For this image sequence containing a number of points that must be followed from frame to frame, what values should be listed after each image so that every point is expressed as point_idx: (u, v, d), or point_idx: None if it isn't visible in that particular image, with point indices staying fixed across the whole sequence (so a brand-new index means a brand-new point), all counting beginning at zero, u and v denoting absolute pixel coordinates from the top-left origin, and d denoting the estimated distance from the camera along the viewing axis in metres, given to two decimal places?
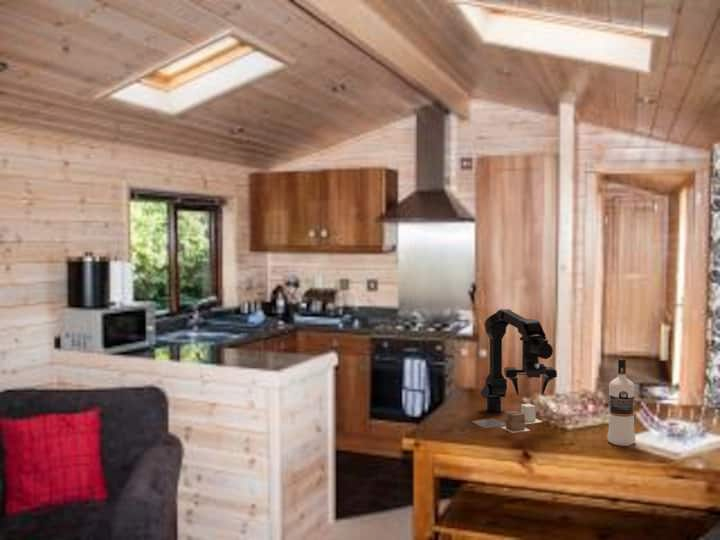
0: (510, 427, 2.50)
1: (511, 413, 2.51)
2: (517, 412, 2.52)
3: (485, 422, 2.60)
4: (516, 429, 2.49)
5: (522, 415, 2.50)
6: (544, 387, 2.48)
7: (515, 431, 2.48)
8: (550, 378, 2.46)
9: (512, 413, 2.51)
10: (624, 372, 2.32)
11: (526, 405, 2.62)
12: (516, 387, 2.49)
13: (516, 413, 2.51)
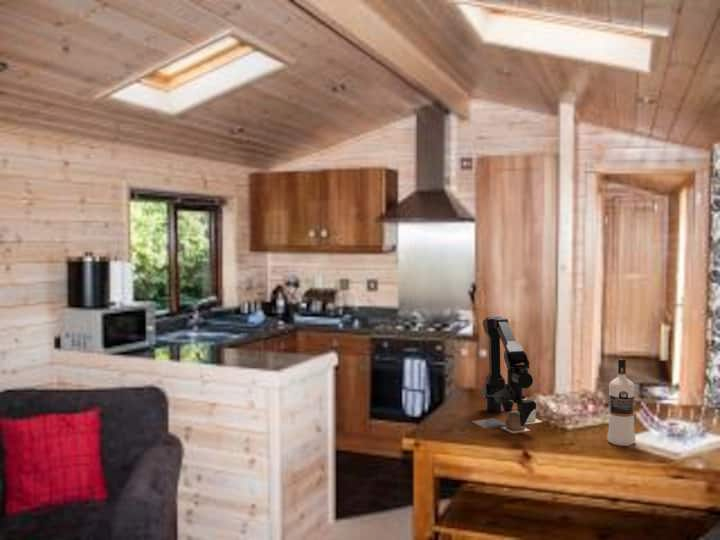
0: (510, 427, 2.50)
1: (511, 413, 2.51)
2: (517, 412, 2.52)
3: (485, 422, 2.60)
4: (516, 429, 2.49)
5: None
6: (520, 418, 2.46)
7: (515, 431, 2.48)
8: (519, 410, 2.44)
9: (512, 413, 2.51)
10: (624, 372, 2.32)
11: None
12: (504, 411, 2.56)
13: (516, 413, 2.51)
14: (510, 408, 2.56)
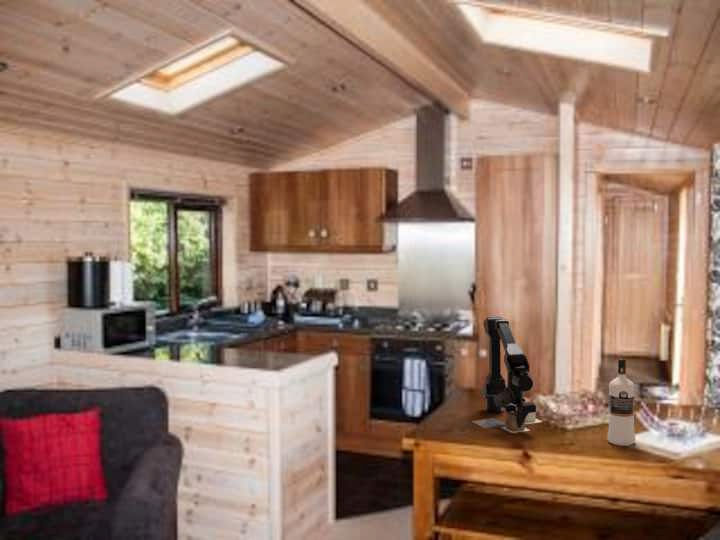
0: (510, 427, 2.50)
1: (511, 413, 2.51)
2: None
3: (485, 422, 2.60)
4: (516, 429, 2.49)
5: None
6: (517, 420, 2.48)
7: (515, 431, 2.48)
8: (516, 411, 2.46)
9: (512, 413, 2.51)
10: (624, 372, 2.32)
11: None
12: None
13: None
14: None
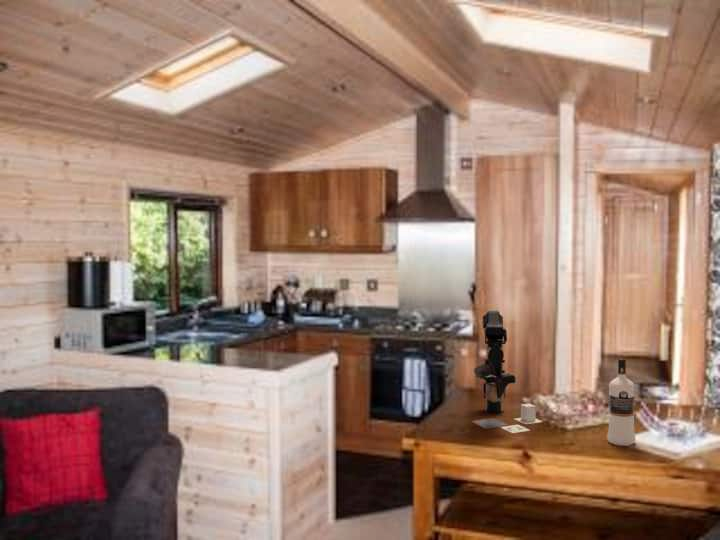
0: (490, 398, 2.56)
1: (491, 384, 2.57)
2: None
3: (485, 422, 2.60)
4: (496, 400, 2.54)
5: None
6: (497, 391, 2.53)
7: (515, 431, 2.48)
8: (496, 382, 2.51)
9: (491, 384, 2.56)
10: (624, 372, 2.32)
11: (526, 405, 2.62)
12: None
13: None
14: None
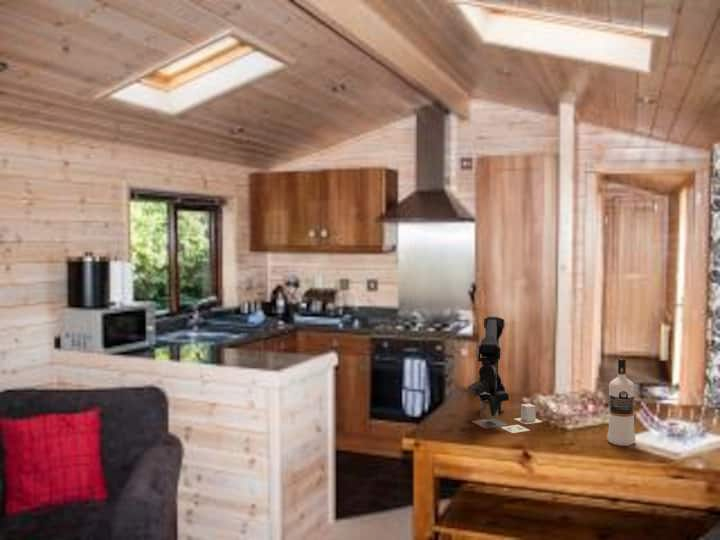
0: (484, 415, 2.58)
1: (485, 401, 2.59)
2: None
3: (485, 422, 2.60)
4: (490, 417, 2.56)
5: None
6: (491, 408, 2.55)
7: (515, 431, 2.48)
8: (490, 400, 2.53)
9: (486, 402, 2.58)
10: (624, 372, 2.32)
11: (526, 405, 2.62)
12: None
13: None
14: None
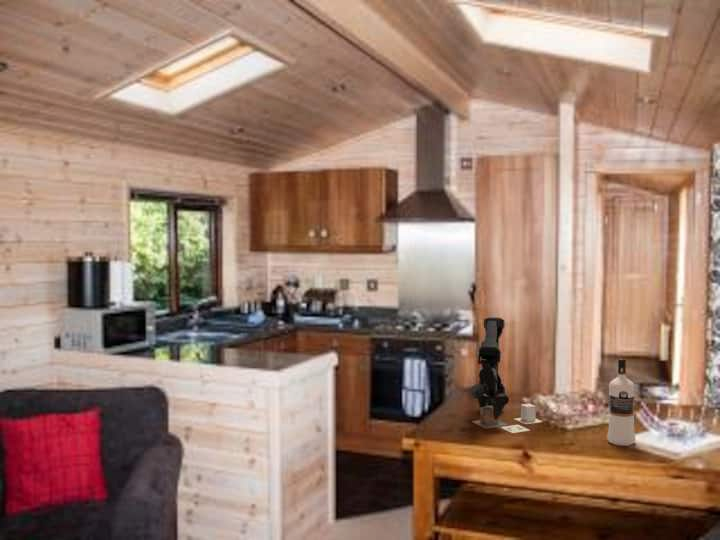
0: (484, 421, 2.58)
1: (485, 407, 2.59)
2: (491, 407, 2.60)
3: None
4: (490, 423, 2.56)
5: None
6: (494, 412, 2.54)
7: (515, 431, 2.48)
8: (492, 404, 2.51)
9: (486, 408, 2.58)
10: (624, 372, 2.32)
11: (526, 405, 2.62)
12: (479, 405, 2.63)
13: (490, 408, 2.58)
14: (485, 402, 2.64)
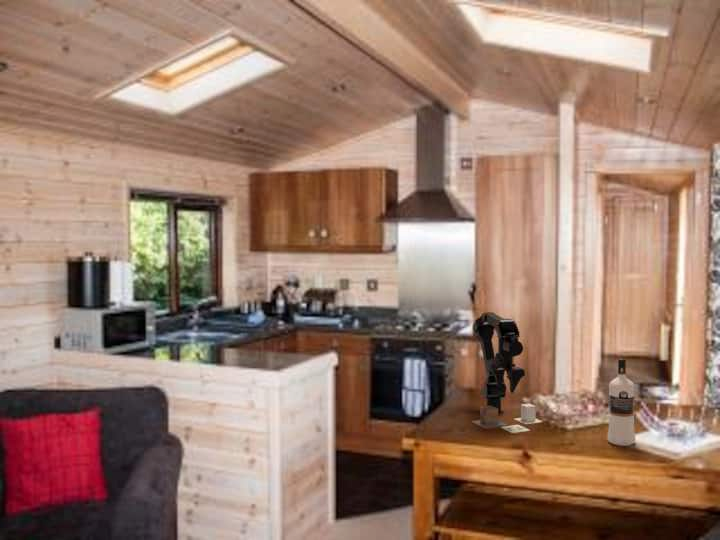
0: (484, 421, 2.58)
1: (485, 407, 2.59)
2: (491, 407, 2.60)
3: None
4: (490, 423, 2.56)
5: (496, 410, 2.57)
6: (510, 385, 2.57)
7: (515, 431, 2.48)
8: (508, 377, 2.54)
9: (486, 408, 2.58)
10: (624, 372, 2.32)
11: (526, 405, 2.62)
12: (496, 379, 2.67)
13: (490, 408, 2.58)
14: (501, 376, 2.67)
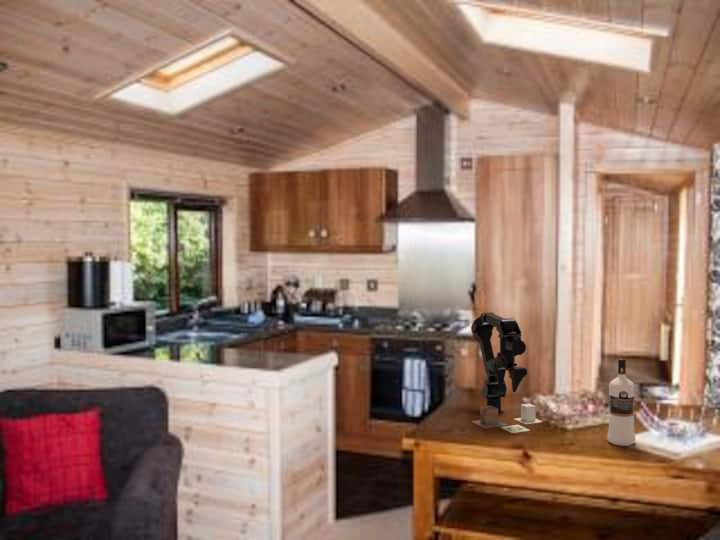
0: (484, 421, 2.58)
1: (485, 407, 2.59)
2: (491, 407, 2.60)
3: None
4: (490, 423, 2.56)
5: (496, 410, 2.57)
6: (512, 384, 2.57)
7: (515, 431, 2.48)
8: (511, 376, 2.55)
9: (486, 408, 2.58)
10: (624, 372, 2.32)
11: (526, 405, 2.62)
12: (497, 379, 2.67)
13: (490, 408, 2.58)
14: (502, 376, 2.67)
